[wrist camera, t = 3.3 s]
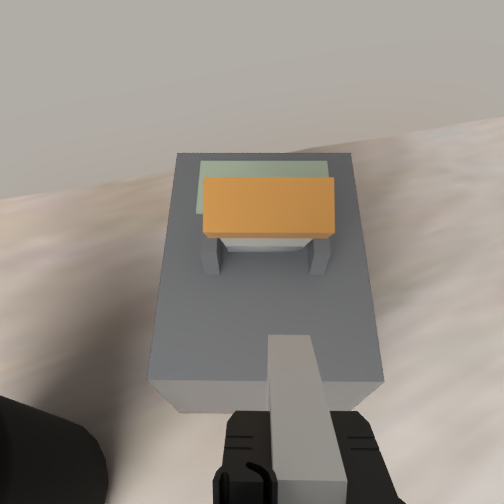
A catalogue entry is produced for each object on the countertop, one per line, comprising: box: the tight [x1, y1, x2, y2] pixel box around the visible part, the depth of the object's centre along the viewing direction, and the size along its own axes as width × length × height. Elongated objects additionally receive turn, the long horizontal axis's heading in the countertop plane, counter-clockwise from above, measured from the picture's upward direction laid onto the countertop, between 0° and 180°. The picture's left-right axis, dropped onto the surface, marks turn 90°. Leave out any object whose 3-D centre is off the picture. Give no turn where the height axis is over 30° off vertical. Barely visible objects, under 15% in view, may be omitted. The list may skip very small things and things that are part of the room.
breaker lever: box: [203, 177, 335, 252], centre depth 23 cm, size 6×2×11 cm, turn 89°
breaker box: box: [147, 153, 384, 413], centre depth 33 cm, size 14×18×15 cm
